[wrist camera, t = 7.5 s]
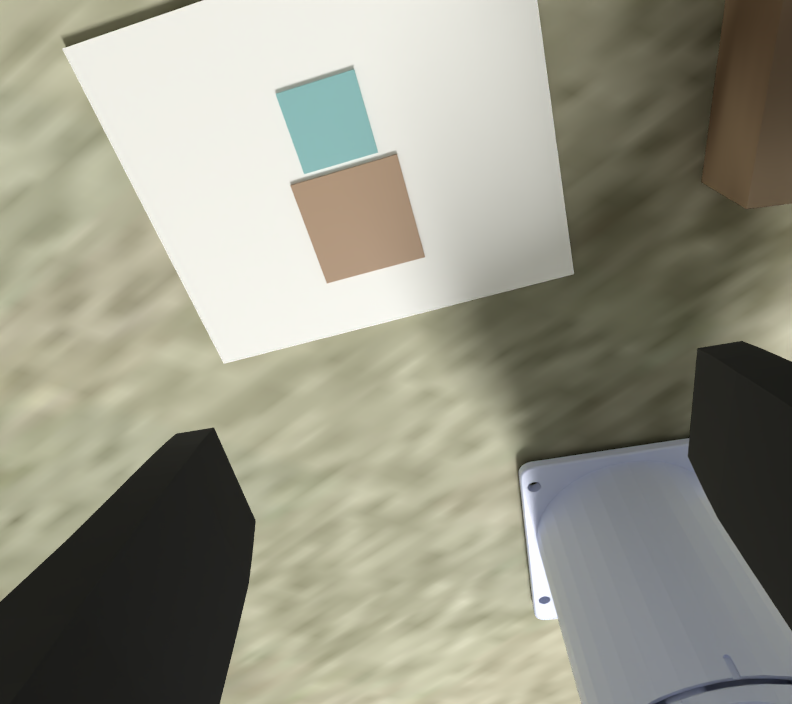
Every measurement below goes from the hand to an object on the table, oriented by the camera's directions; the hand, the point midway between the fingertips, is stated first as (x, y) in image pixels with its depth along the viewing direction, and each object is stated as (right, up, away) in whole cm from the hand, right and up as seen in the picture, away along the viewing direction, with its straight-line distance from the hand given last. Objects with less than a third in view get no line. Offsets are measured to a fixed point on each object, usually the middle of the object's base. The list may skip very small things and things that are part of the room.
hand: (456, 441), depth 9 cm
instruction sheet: (-2, +7, +8) cm, 11 cm away
